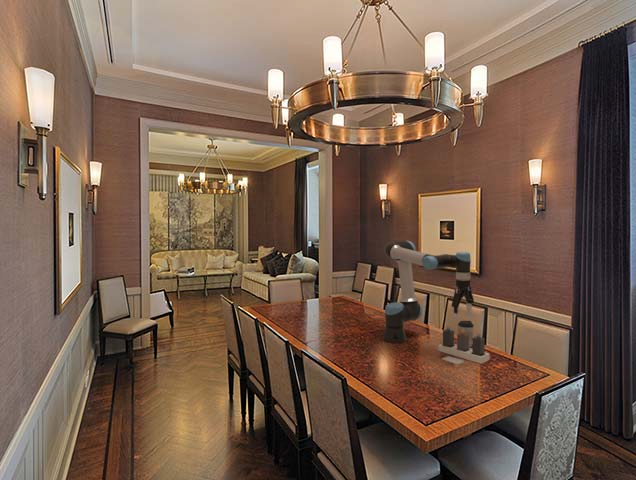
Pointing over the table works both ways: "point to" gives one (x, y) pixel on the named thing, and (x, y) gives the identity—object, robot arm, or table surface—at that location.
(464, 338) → the plug
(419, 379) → the table surface
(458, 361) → the mat
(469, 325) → the coffee cup
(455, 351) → the strip
